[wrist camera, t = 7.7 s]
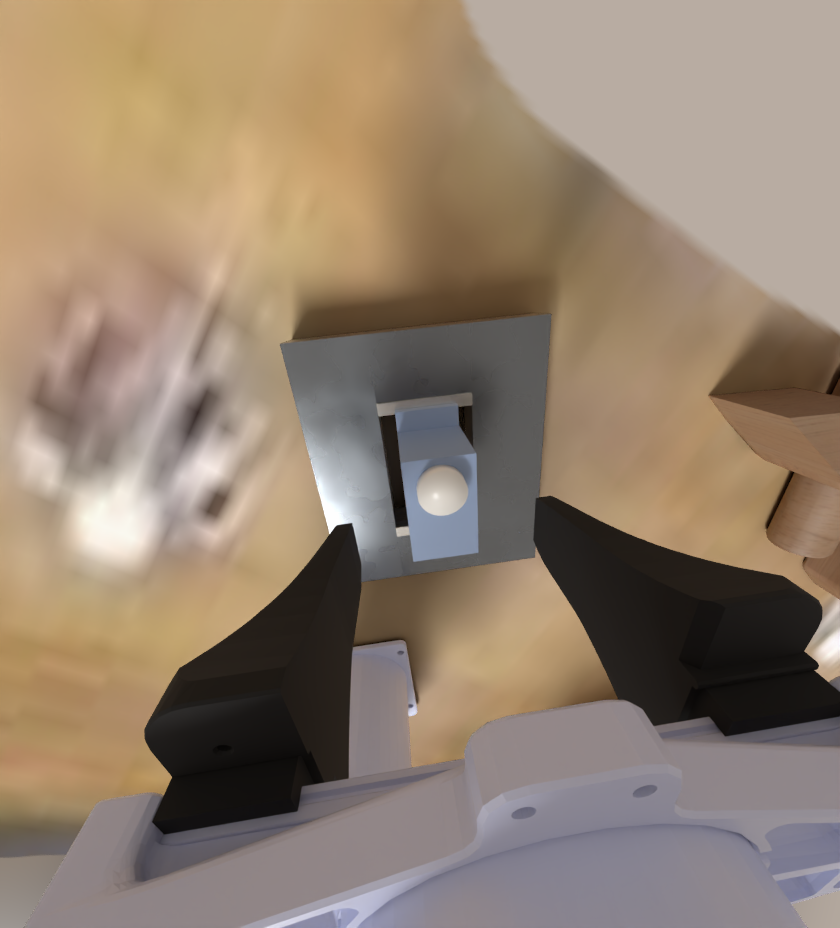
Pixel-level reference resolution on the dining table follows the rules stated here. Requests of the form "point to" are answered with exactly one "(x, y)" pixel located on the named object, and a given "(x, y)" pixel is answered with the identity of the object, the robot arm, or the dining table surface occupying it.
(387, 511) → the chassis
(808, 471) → the wooden block set
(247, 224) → the dining table surface
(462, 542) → the block
